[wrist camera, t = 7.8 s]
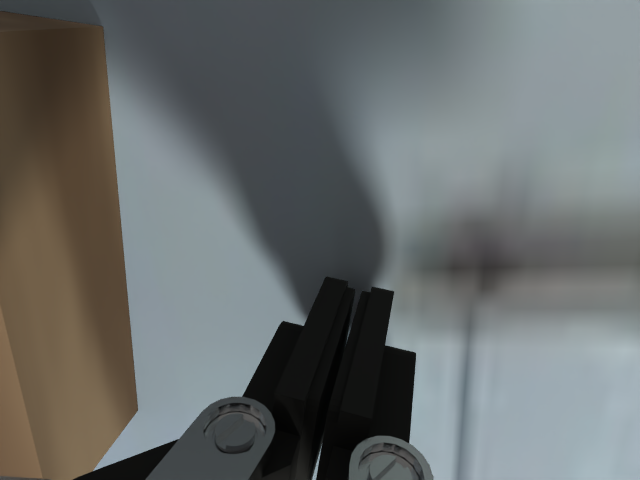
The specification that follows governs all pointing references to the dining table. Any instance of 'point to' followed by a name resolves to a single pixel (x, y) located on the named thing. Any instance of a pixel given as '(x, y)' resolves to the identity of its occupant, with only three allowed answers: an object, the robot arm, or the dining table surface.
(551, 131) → the dining table surface
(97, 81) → the t block
